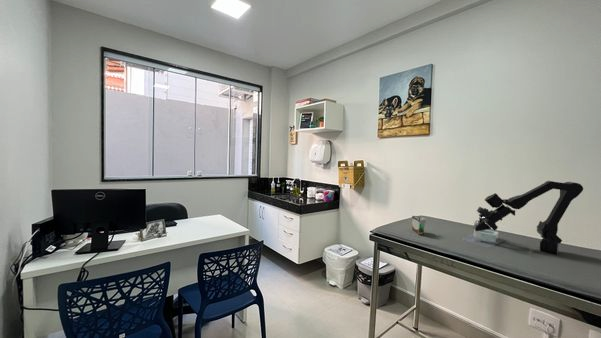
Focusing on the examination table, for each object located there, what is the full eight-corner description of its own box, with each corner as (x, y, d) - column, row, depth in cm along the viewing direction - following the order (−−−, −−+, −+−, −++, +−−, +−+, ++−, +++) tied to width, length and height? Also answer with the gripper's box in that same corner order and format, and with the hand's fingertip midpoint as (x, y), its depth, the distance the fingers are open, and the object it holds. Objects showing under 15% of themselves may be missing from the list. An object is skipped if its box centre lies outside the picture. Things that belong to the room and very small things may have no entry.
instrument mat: (505, 240, 151) (505, 239, 151) (488, 248, 137) (488, 247, 137) (476, 232, 164) (476, 232, 164) (457, 239, 150) (457, 239, 150)
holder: (497, 238, 153) (498, 231, 153) (495, 242, 146) (495, 235, 146) (478, 234, 160) (478, 228, 160) (475, 237, 153) (475, 231, 153)
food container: (429, 236, 156) (430, 220, 155) (419, 235, 156) (420, 220, 155) (420, 230, 168) (420, 215, 168) (411, 229, 168) (411, 215, 168)
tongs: (479, 240, 149) (480, 220, 148) (480, 242, 146) (481, 222, 145) (473, 239, 150) (474, 219, 150) (474, 241, 147) (475, 221, 146)
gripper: (483, 200, 153) (461, 215, 159) (491, 206, 136) (466, 222, 142) (498, 214, 150) (475, 229, 156) (508, 221, 133) (482, 238, 139)
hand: (474, 229), depth 148 cm, fingers closed on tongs, 4 cm apart
